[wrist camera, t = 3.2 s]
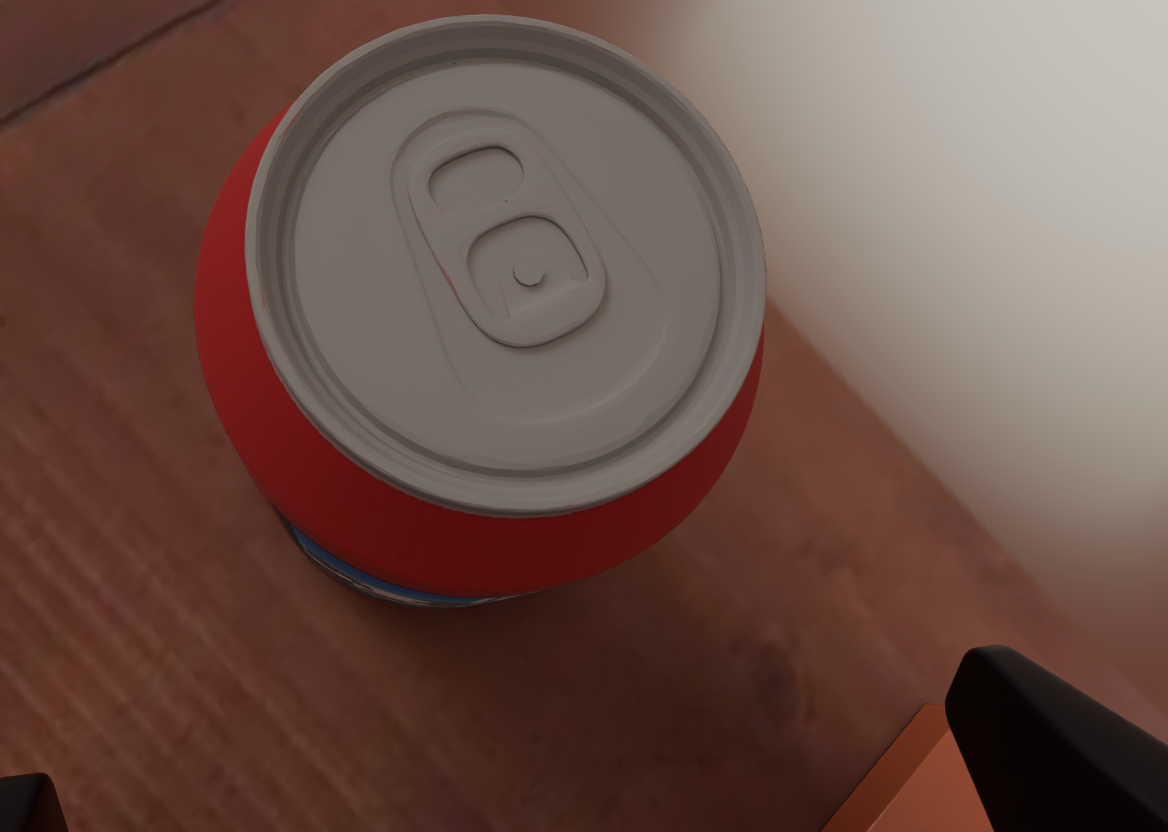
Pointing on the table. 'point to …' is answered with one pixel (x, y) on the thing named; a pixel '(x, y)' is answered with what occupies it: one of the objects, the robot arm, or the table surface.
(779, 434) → the table surface
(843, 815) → the terracotta tile
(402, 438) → the beverage can
